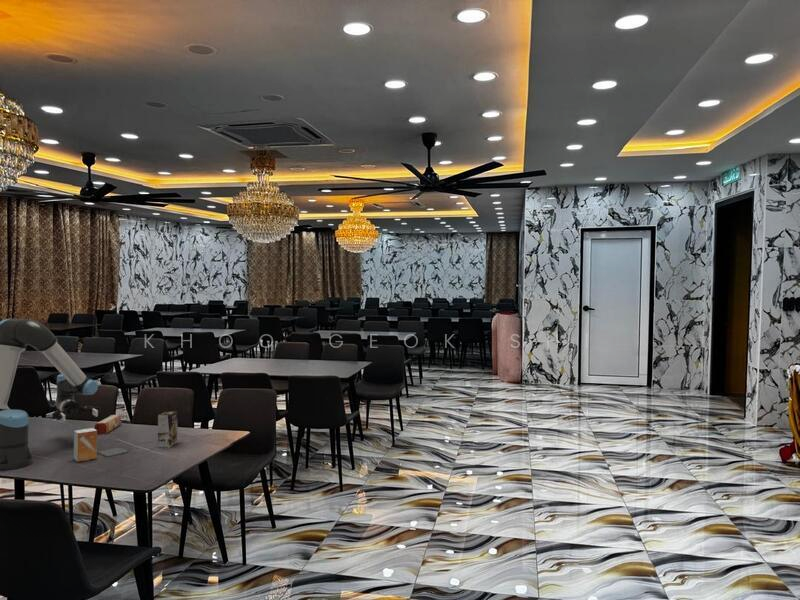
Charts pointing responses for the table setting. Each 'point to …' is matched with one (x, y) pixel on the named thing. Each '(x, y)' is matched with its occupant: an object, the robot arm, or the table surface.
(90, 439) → the small box
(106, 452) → the gray slab
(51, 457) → the table surface
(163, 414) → the coffee box
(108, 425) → the snack package
